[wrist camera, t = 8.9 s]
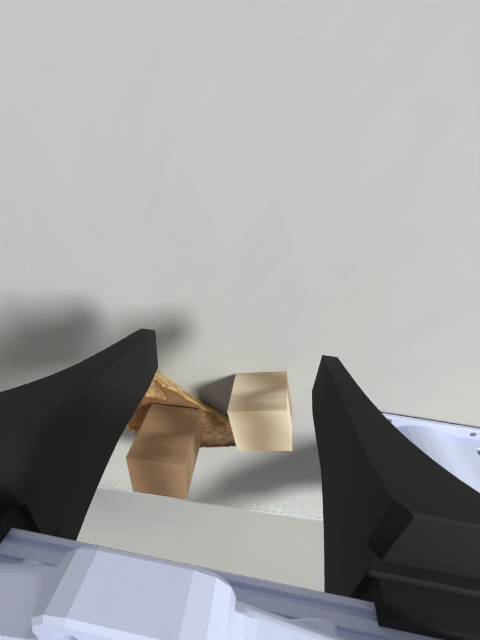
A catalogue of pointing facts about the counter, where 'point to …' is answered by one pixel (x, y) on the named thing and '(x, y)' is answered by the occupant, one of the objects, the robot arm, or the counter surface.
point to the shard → (170, 394)
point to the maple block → (261, 412)
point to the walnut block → (165, 451)
